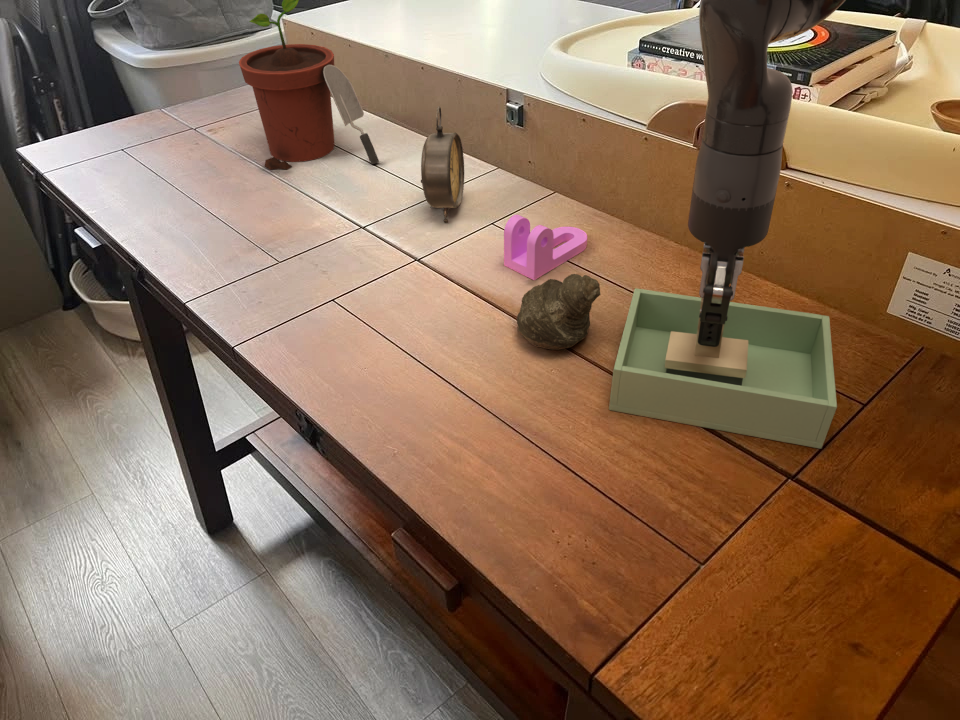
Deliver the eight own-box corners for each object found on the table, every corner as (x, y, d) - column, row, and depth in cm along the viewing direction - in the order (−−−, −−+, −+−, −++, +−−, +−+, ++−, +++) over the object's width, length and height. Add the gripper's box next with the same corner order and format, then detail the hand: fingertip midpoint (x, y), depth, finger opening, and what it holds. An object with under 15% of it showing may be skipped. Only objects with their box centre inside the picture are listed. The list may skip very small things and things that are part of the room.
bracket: (534, 280, 102) (535, 234, 98) (504, 265, 105) (503, 220, 101) (594, 244, 109) (598, 200, 105) (564, 231, 112) (567, 187, 108)
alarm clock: (454, 227, 114) (449, 122, 104) (419, 225, 115) (411, 120, 104) (467, 194, 122) (463, 93, 112) (434, 192, 123) (427, 92, 113)
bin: (816, 356, 88) (829, 315, 85) (821, 449, 77) (837, 407, 73) (629, 327, 94) (634, 287, 90) (608, 410, 82) (613, 368, 78)
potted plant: (337, 123, 147) (316, -18, 131) (380, 164, 132) (363, 10, 116) (246, 142, 140) (213, -4, 125) (281, 188, 125) (249, 29, 110)
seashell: (570, 339, 82) (633, 302, 87) (509, 252, 84) (573, 221, 89) (531, 377, 92) (589, 342, 96) (477, 299, 94) (536, 269, 98)
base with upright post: (744, 362, 86) (758, 286, 80) (742, 393, 82) (756, 314, 76) (668, 353, 88) (676, 278, 82) (663, 382, 84) (670, 305, 78)
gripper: (775, 225, 65) (742, 381, 76) (777, 159, 75) (747, 304, 86) (686, 217, 67) (666, 369, 78) (699, 154, 77) (680, 296, 88)
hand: (709, 334), depth 82 cm, fingers closed on base with upright post, 2 cm apart
